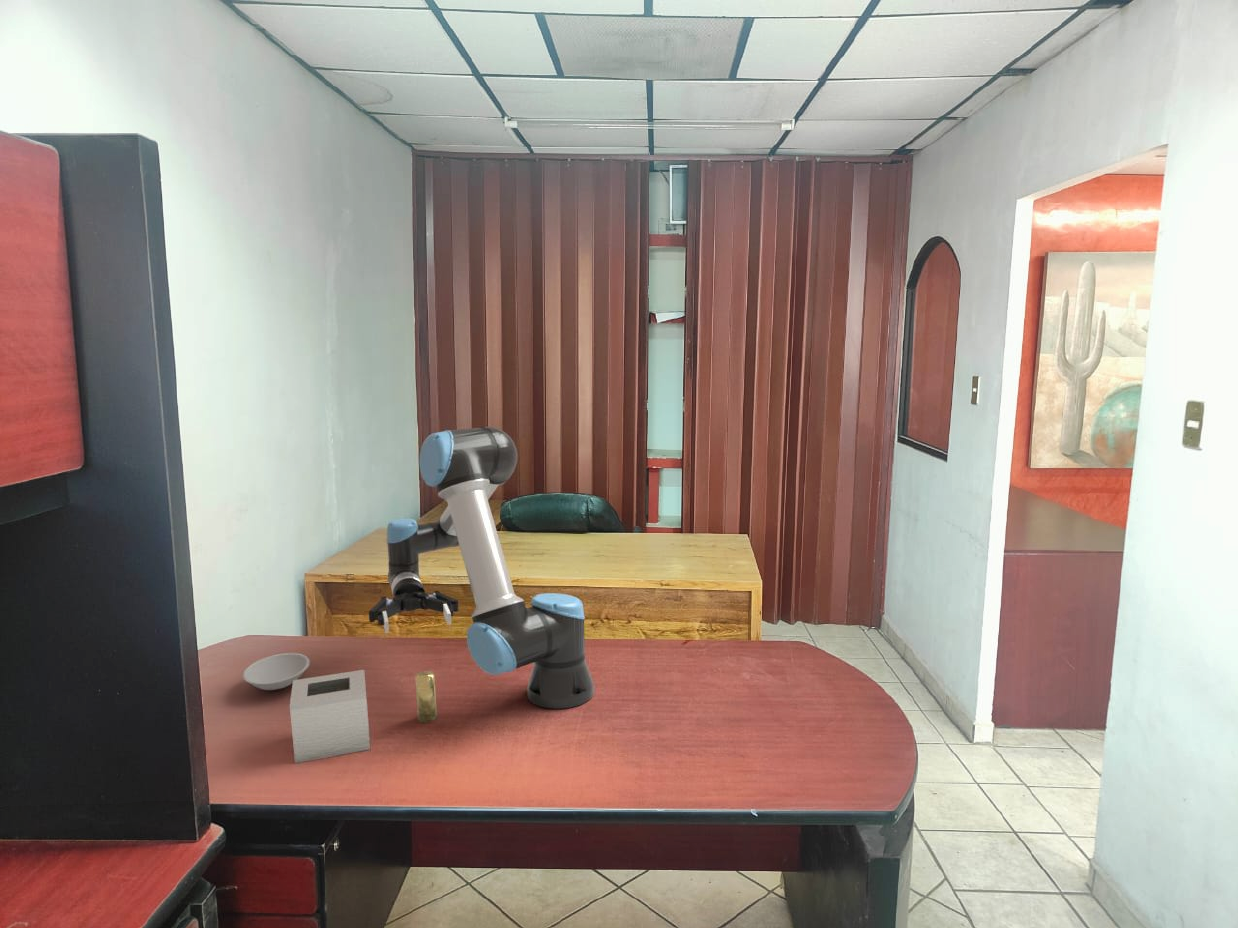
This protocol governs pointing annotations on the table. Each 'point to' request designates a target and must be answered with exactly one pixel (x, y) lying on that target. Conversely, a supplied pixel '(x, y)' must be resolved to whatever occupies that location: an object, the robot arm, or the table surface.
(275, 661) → the dish
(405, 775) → the table surface
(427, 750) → the table surface
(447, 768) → the table surface
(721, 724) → the table surface
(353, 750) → the grey tissue box
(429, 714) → the coin roll
